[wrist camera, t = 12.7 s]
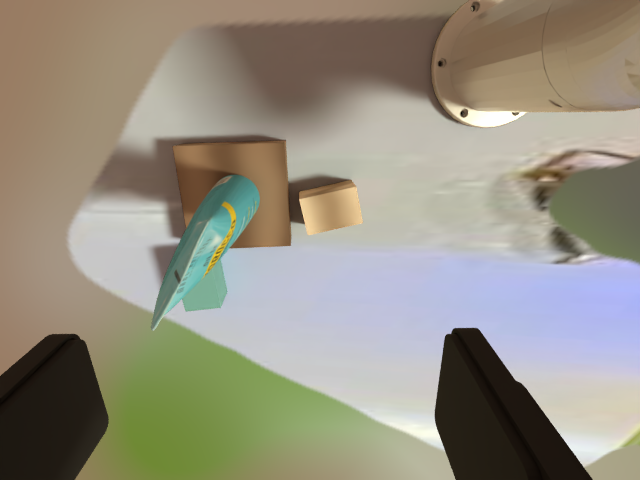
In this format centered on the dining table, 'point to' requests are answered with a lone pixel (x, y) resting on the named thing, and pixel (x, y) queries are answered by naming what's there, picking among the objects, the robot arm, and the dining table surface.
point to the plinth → (246, 160)
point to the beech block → (330, 207)
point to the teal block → (207, 291)
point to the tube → (207, 238)
